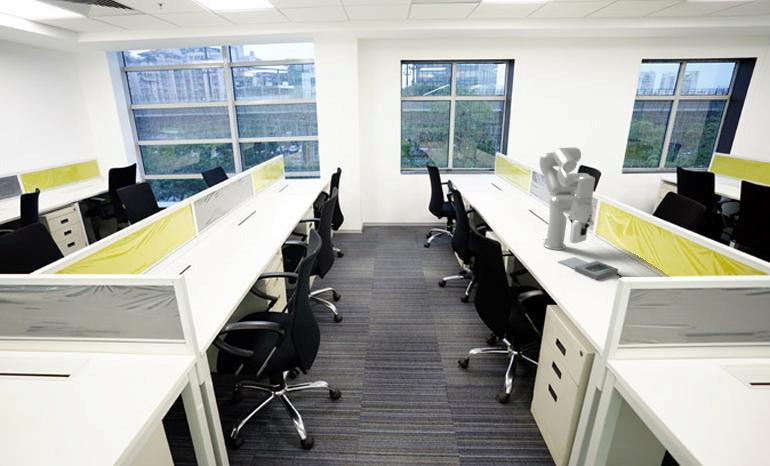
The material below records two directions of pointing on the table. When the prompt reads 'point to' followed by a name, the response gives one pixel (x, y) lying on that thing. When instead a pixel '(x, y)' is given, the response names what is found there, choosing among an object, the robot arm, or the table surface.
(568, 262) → the rubber mat
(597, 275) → the charging dock
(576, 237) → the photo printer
